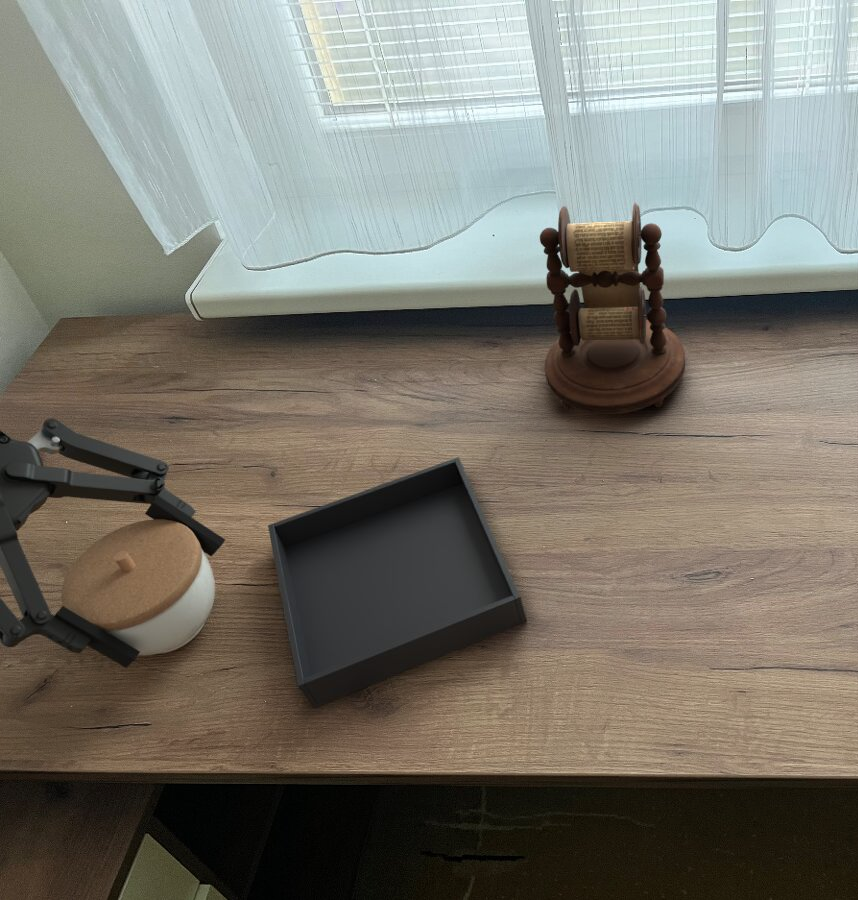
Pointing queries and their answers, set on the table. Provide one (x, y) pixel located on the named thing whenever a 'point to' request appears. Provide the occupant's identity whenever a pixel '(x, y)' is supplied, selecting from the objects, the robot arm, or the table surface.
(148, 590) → the trinket box
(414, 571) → the tray
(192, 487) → the table surface
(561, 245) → the scroll
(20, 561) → the robot arm
